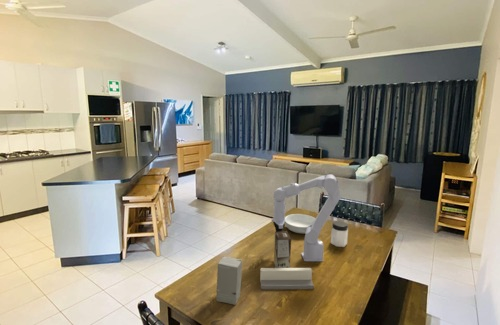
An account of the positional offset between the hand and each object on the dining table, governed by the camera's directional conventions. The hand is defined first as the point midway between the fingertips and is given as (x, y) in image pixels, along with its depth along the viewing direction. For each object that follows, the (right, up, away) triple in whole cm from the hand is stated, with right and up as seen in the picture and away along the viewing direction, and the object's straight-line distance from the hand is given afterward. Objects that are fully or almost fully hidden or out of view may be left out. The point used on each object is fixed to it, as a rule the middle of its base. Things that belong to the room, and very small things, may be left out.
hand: (278, 236), depth 140 cm
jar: (+36, -8, +13) cm, 39 cm away
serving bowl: (+17, -5, +30) cm, 35 cm away
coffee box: (0, -12, -11) cm, 16 cm away
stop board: (+1, -14, -25) cm, 29 cm away
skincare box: (-23, -16, -33) cm, 44 cm away
